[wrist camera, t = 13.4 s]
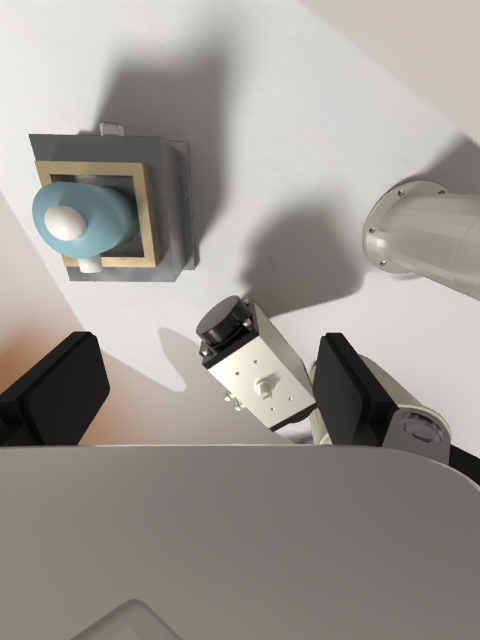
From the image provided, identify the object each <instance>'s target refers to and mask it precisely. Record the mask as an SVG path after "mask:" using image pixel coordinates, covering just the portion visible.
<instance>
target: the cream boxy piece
mask: <svg viewBox="0 0 480 640" xmlns="http://www.w3.org/2000/svg"><path fill="white" fill-rule="evenodd" d="M196 334H197V335H198V336H199V337H200V338H201V339H202V342H201V347H200V352H199V354H200V355H201V356H202V357H203V362H202V365H203V366H204V367H205V368H206V369H207V370H208V371H209V372H211V374H212V375H214V376H215V377H216V378H217V379H218V380H219V381H220V382H221V383H222V384H223V385H224V386H225V387H226V388H227V389H228V390H227V391H225V392H224V393H223V396H224V398H225V400H227V401H230V400H231V399H232V398H234V397H237V399H239V400H237V401H236V402H234V407H235V409H236V410H237V411H240V410H241V409H242V408H245V407H247V408H248V409H249V410H250V411H251V412H252V413H253V414H254V415H255V416H256V417H257V418H258V419H259V420H260V421H261V422H262V423H264V424H265V425H266V426H267V427H268V428H269V429H270V430H271V431H272V432H274V431H276V430H278V429H280V428H282V427H283V426H285V425H287V424H289V423H297V422H300V421H302V420H304V419H305V418H307V417H308V416H309V415H310V414H311V413H312V412H313V410H315V409H317V408H318V406H317V403H316V401H315V398H314V396H313V392H312V386H313V385H312V383H311V380H310V378H309V375H308V373H307V370H306V368H305V365H304V363H303V361H302V360H301V358H300V357H299V356H298V355H297V353H296V352H295V351H294V350H293V349H292V347H291V346H290V345H289V344H288V342H287V341H286V340H285V339H284V338H283V336H282V335H281V334H280V333H279V331H278V330H277V329H276V328H275V327H274V325H273V324H272V323H271V322H270V320H269V319H268V318H267V317H266V316H265V314H264V313H263V312H262V311H261V309H260V308H259V307H258V306H257V305H256V303H255V302H254V301H253V300H252V298H251V297H250V296H249V297H248V298H246V299H244V300H243V301H242V300H241V299H240V298H239V297H238V296H236V295H234V296H230V297H228V298H226V299H224V300H223V301H221V302H220V303H218V304H217V305H216V306H215V307H213V308H212V309H211V310H210V311H209V312H208V313H207V314H206V315H205V316H204V317H203V319H202V320H201V321H200V323H199V324H198V326H197V329H196Z"/></svg>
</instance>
